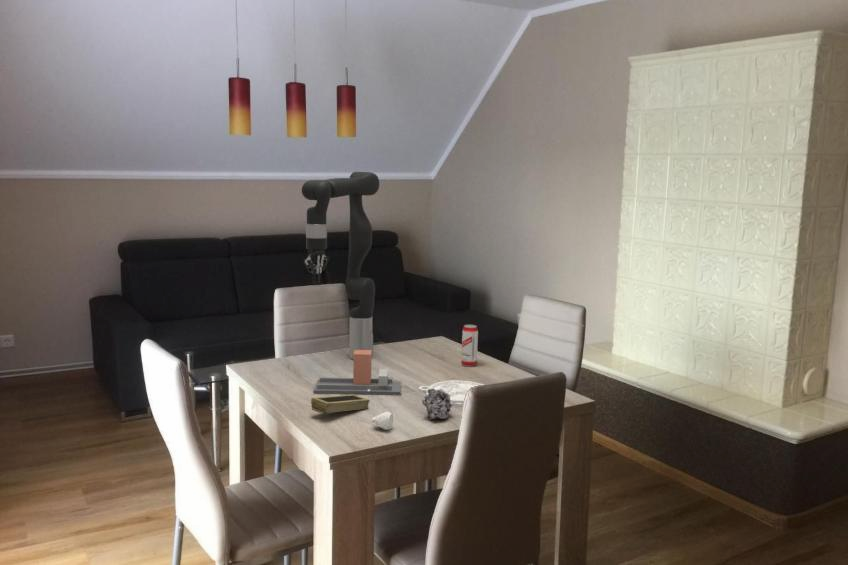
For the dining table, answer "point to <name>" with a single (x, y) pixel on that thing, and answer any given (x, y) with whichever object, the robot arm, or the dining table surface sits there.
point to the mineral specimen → (437, 404)
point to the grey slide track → (359, 386)
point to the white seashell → (384, 420)
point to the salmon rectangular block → (362, 367)
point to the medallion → (452, 390)
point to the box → (338, 403)
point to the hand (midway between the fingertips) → (316, 283)
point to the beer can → (469, 345)
